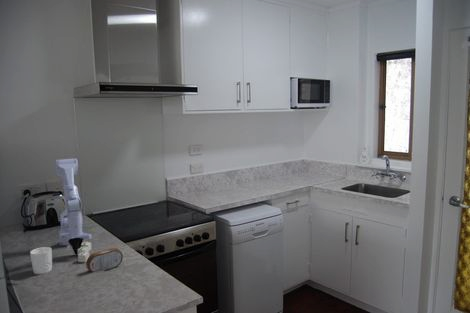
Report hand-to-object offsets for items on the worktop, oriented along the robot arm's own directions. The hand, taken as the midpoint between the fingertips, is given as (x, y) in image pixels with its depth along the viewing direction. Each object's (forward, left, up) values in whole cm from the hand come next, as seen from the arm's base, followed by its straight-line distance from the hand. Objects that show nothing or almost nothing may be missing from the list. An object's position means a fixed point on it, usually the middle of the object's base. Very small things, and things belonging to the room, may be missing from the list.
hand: (77, 253), depth 166 cm
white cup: (-5, -17, -2) cm, 18 cm away
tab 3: (+7, -6, -1) cm, 9 cm away
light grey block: (+1, +6, -1) cm, 6 cm away
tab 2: (+3, 0, -1) cm, 3 cm away
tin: (+20, -11, -2) cm, 23 cm away
